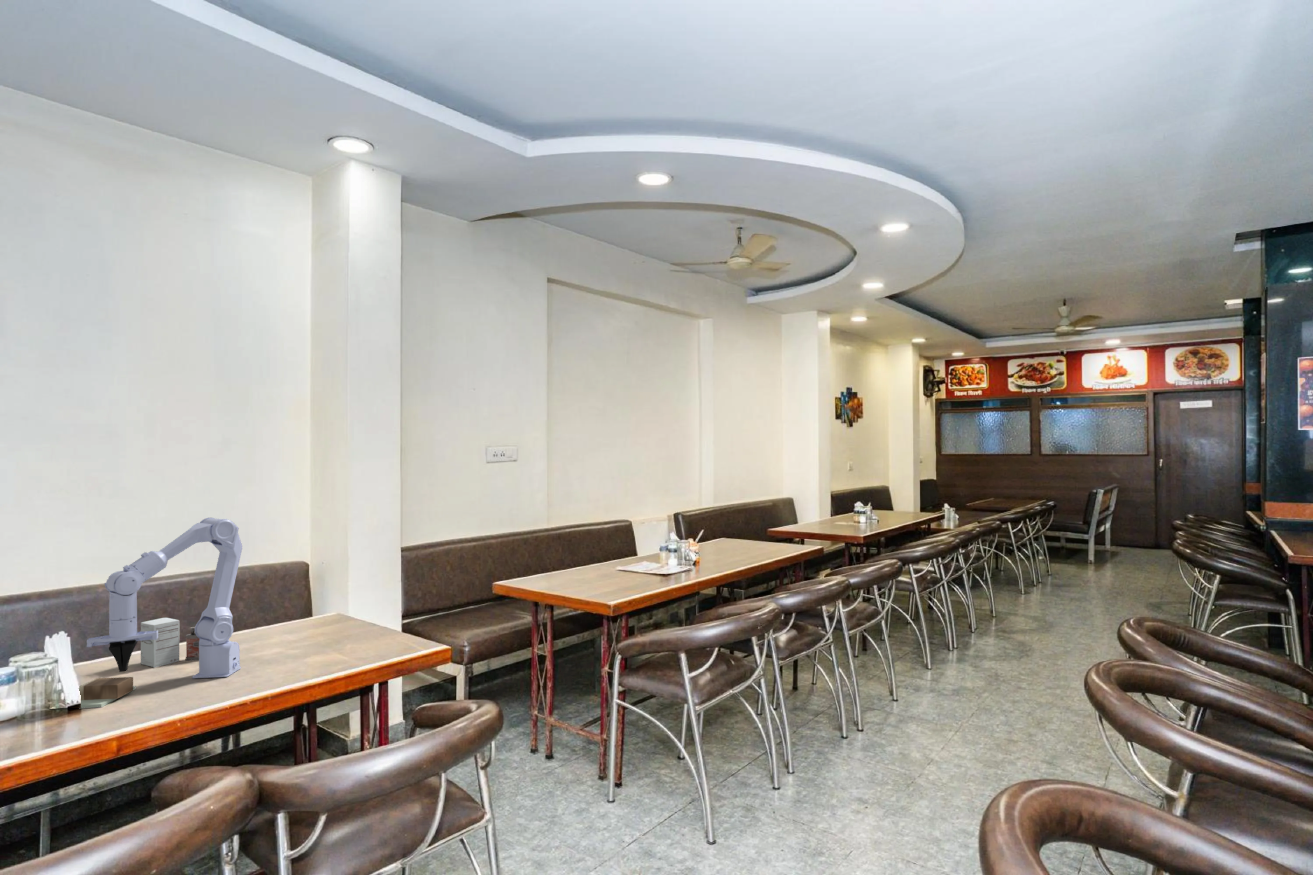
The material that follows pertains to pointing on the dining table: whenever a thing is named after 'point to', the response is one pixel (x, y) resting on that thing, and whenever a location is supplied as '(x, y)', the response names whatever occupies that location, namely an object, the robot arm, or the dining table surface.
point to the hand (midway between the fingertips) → (123, 670)
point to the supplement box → (160, 642)
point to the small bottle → (192, 646)
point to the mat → (97, 702)
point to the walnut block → (106, 688)
